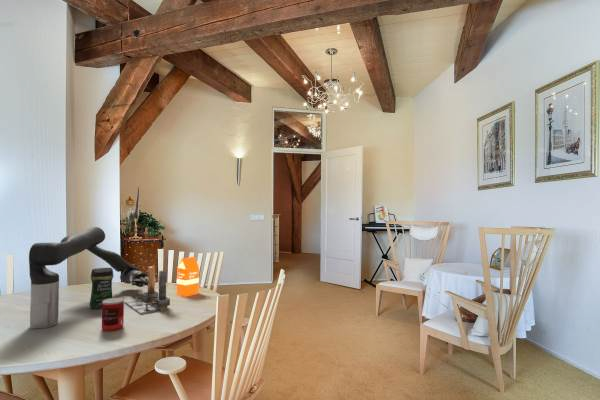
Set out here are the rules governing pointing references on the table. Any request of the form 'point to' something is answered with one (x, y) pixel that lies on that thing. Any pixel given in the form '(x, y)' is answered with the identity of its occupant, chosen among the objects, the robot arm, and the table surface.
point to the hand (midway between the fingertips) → (149, 283)
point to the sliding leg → (150, 285)
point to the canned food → (112, 314)
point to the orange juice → (187, 277)
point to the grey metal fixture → (152, 299)
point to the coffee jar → (101, 286)
